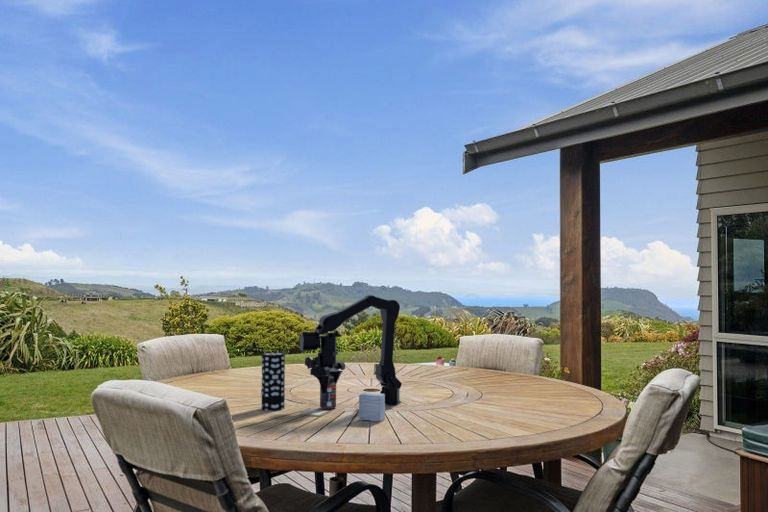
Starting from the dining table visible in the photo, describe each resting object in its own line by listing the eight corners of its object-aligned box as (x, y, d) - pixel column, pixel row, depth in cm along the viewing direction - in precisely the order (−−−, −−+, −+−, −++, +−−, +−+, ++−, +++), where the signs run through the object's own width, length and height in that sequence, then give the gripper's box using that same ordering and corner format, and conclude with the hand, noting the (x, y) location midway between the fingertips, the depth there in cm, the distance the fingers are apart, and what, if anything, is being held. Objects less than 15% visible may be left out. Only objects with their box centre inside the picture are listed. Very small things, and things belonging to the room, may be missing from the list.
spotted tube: (288, 407, 227) (289, 353, 228) (275, 411, 219) (276, 355, 220) (270, 405, 230) (270, 352, 231) (256, 409, 223) (257, 354, 224)
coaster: (328, 412, 219) (328, 410, 219) (319, 416, 211) (319, 415, 211) (308, 410, 221) (308, 409, 221) (298, 415, 214) (298, 413, 214)
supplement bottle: (333, 409, 222) (333, 378, 222) (317, 409, 223) (318, 377, 224) (338, 406, 228) (338, 376, 228) (322, 406, 229) (322, 375, 229)
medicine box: (385, 419, 207) (385, 393, 207) (380, 422, 203) (380, 395, 203) (363, 417, 209) (363, 392, 210) (358, 420, 205) (358, 394, 206)
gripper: (319, 346, 238) (319, 386, 237) (297, 351, 220) (297, 394, 219) (345, 347, 234) (345, 388, 233) (325, 352, 217) (325, 396, 216)
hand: (328, 391), depth 226 cm, fingers open, 7 cm apart
